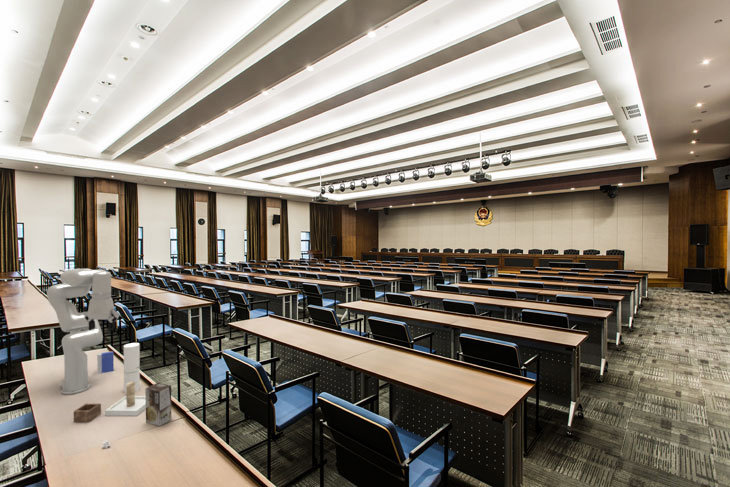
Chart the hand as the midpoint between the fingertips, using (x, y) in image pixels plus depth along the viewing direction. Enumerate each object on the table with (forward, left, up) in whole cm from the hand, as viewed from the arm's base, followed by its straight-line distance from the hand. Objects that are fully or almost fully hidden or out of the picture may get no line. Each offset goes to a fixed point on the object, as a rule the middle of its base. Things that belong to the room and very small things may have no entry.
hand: (101, 329), depth 170 cm
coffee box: (+38, -16, -38) cm, 56 cm away
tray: (+18, -5, -38) cm, 42 cm away
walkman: (-25, +37, -38) cm, 59 cm away
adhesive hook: (+28, -36, -38) cm, 60 cm away
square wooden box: (+4, -14, -38) cm, 40 cm away
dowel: (+17, -5, -36) cm, 40 cm away
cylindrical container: (+6, +14, -38) cm, 41 cm away
